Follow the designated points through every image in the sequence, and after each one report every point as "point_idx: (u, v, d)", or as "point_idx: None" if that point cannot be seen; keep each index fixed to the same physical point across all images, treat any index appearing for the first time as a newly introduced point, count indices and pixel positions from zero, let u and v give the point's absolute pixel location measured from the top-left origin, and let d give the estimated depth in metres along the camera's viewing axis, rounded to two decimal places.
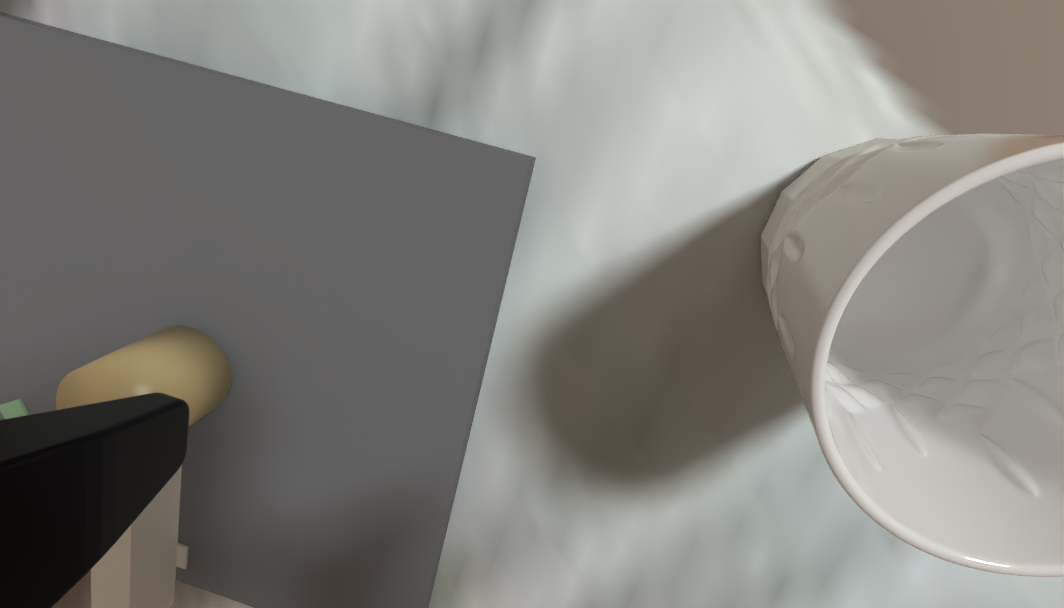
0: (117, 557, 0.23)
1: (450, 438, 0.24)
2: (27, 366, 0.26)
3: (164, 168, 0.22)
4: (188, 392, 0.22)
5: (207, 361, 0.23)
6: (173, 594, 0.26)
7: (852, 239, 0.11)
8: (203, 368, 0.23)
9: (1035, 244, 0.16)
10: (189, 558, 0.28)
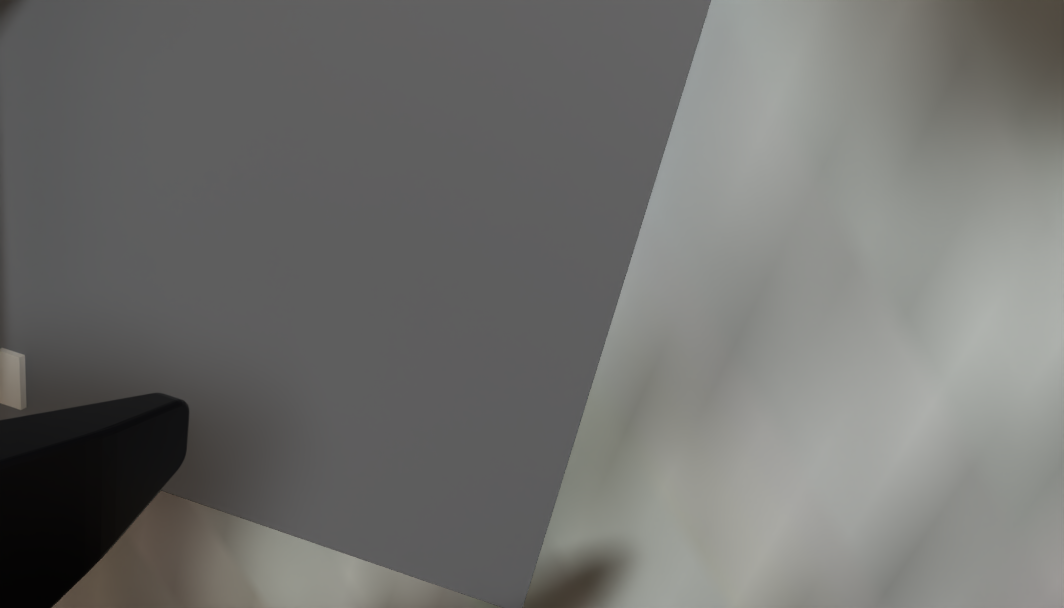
0: None
1: None
2: None
3: None
4: None
5: None
6: None
7: None
8: None
9: None
10: (29, 384, 0.13)
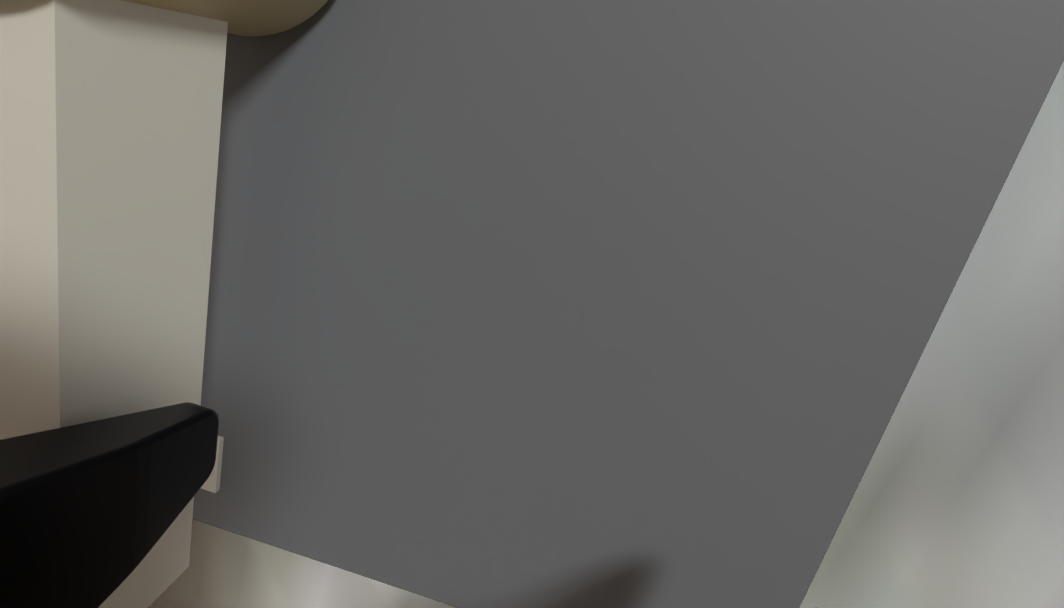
0: (18, 394, 0.07)
1: (1024, 45, 0.08)
2: None
3: None
4: None
5: None
6: (187, 542, 0.11)
7: None
8: None
9: None
10: (225, 467, 0.12)
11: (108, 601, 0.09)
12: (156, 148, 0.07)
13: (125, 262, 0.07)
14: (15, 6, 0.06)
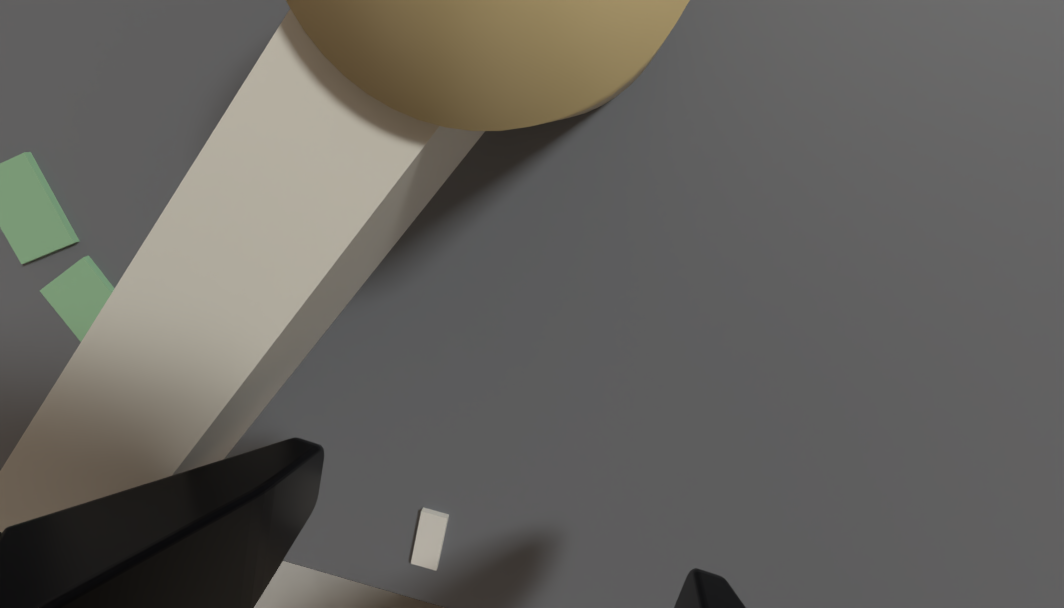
0: (160, 409, 0.07)
1: None
2: (53, 52, 0.10)
3: None
4: None
5: None
6: None
7: None
8: None
9: None
10: (446, 544, 0.12)
11: None
12: (392, 225, 0.07)
13: (313, 316, 0.07)
14: (391, 116, 0.06)
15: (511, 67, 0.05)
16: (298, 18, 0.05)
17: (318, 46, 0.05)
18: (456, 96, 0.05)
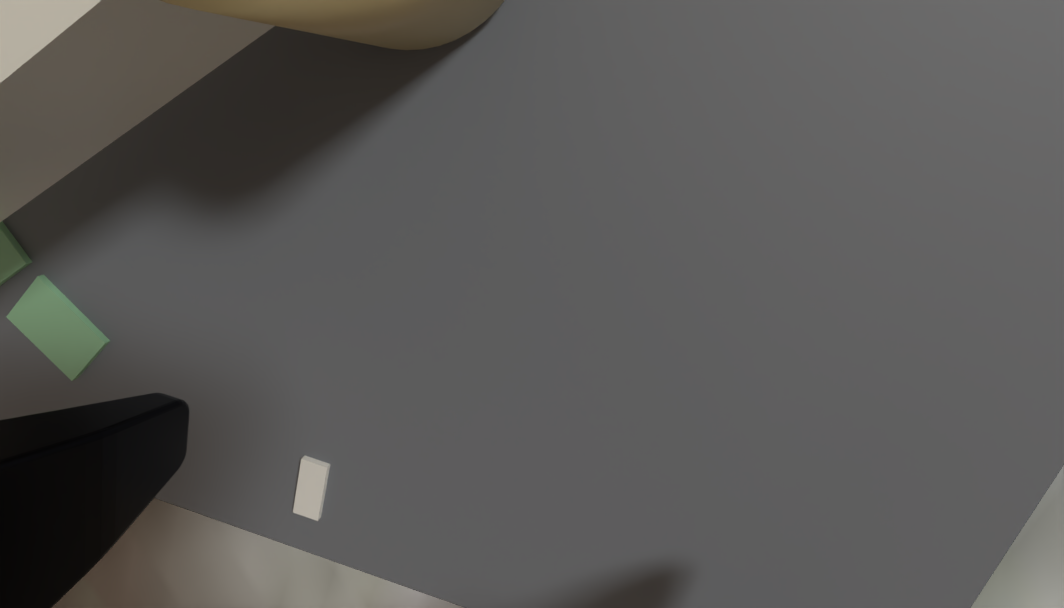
0: None
1: None
2: None
3: None
4: None
5: None
6: None
7: None
8: None
9: None
10: (328, 494, 0.12)
11: None
12: (128, 77, 0.07)
13: (15, 137, 0.07)
14: None
15: None
16: None
17: None
18: None
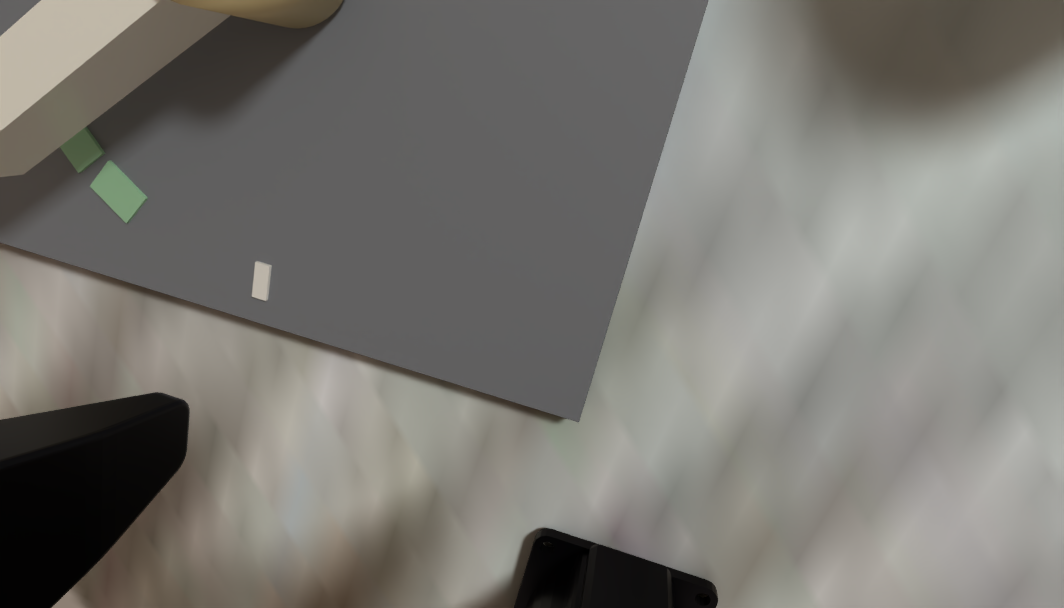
0: (29, 77, 0.15)
1: (676, 36, 0.16)
2: None
3: None
4: None
5: None
6: (33, 165, 0.19)
7: None
8: None
9: None
10: (271, 285, 0.20)
11: None
12: (163, 38, 0.16)
13: (114, 65, 0.16)
14: None
15: None
16: None
17: None
18: None
